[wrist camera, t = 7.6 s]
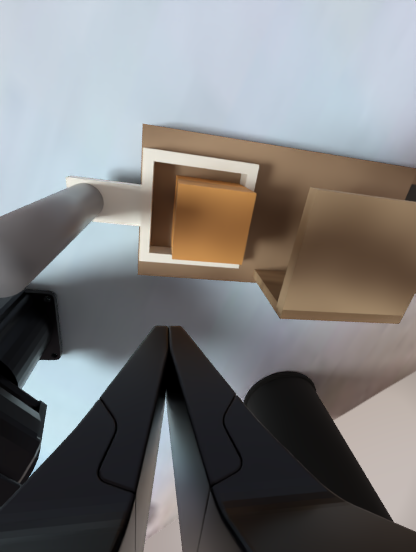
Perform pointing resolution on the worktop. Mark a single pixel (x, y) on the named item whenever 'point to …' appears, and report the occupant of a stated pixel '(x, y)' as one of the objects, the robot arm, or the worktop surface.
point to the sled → (94, 217)
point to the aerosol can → (312, 436)
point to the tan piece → (303, 227)
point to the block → (210, 220)
